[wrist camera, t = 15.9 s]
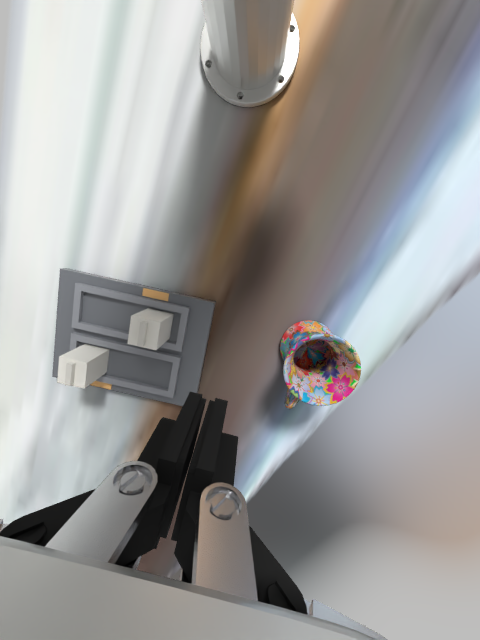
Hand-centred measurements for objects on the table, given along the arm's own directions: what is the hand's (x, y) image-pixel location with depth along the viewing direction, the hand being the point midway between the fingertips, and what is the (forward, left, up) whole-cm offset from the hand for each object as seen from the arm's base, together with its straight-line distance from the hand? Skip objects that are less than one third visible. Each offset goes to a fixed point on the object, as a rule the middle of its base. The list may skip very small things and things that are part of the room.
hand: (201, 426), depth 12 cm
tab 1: (+13, -21, -31) cm, 39 cm away
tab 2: (+5, -12, -31) cm, 33 cm away
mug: (+5, +11, -33) cm, 35 cm away
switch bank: (+9, -16, -32) cm, 37 cm away
